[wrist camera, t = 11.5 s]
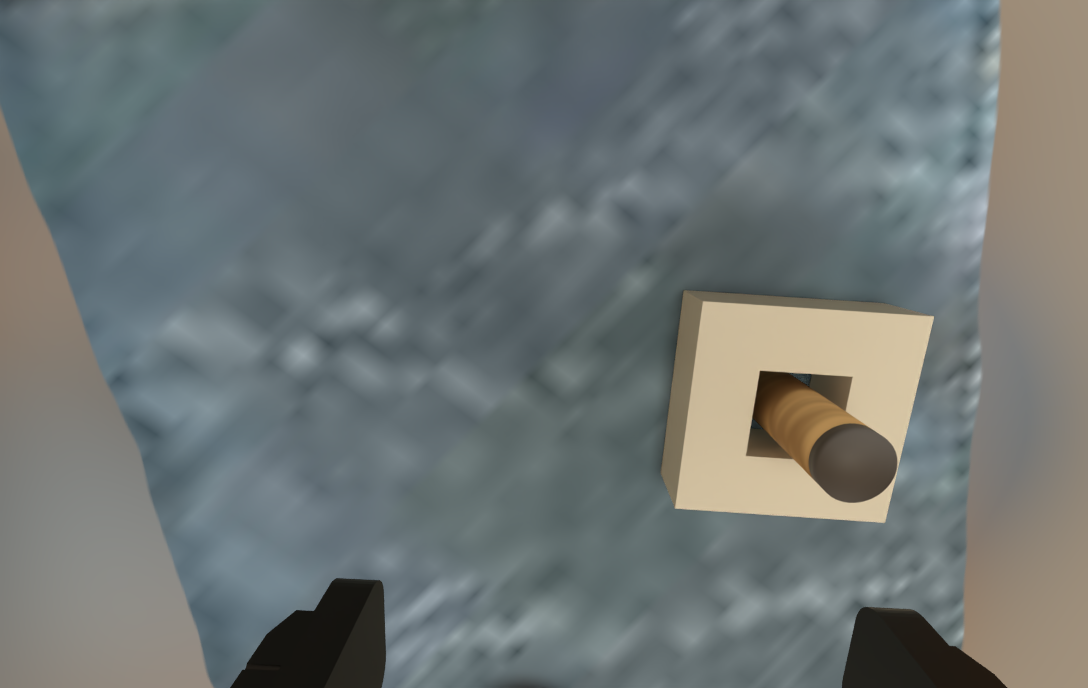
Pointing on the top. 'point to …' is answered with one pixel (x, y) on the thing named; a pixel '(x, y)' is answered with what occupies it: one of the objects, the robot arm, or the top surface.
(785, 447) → the peg
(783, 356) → the socket block
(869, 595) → the top surface
